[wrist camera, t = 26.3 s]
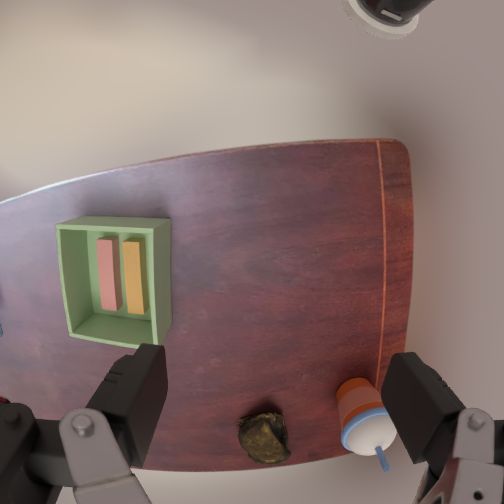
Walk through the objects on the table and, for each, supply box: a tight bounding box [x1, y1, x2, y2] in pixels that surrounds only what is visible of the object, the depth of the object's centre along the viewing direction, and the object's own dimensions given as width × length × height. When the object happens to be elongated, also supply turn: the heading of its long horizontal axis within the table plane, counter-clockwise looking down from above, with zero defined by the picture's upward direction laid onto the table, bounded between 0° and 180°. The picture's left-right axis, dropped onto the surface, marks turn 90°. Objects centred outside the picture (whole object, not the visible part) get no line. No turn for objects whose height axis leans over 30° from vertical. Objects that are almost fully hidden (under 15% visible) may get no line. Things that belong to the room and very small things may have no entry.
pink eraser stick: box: [96, 236, 123, 311], centre depth 38 cm, size 10×2×2 cm, turn 176°
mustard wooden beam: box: [122, 238, 149, 315], centre depth 38 cm, size 10×2×2 cm, turn 177°
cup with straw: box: [336, 377, 397, 472], centre depth 37 cm, size 9×9×18 cm
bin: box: [56, 216, 172, 349], centre depth 36 cm, size 15×13×8 cm
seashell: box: [238, 413, 291, 466], centre depth 45 cm, size 16×9×7 cm, turn 13°
